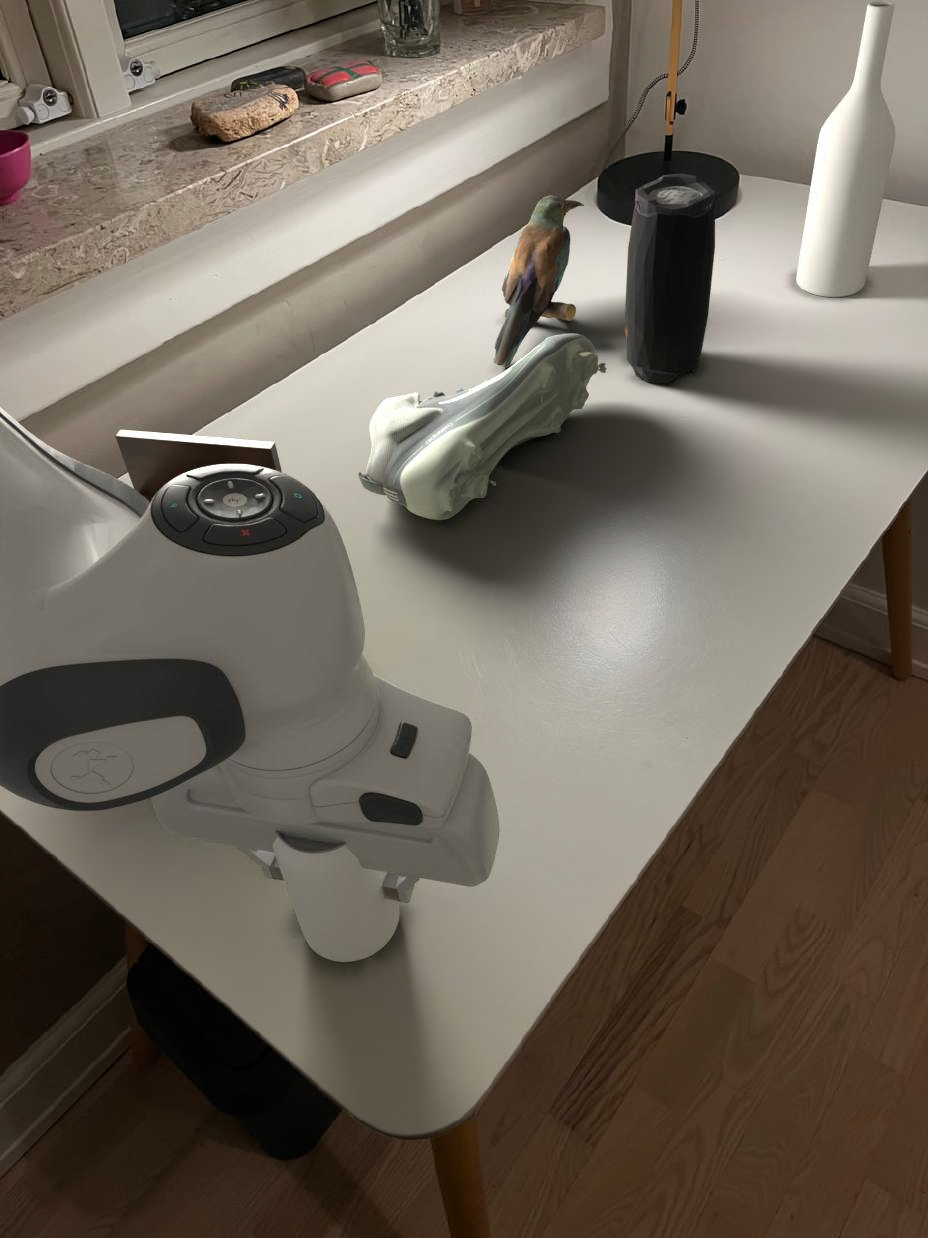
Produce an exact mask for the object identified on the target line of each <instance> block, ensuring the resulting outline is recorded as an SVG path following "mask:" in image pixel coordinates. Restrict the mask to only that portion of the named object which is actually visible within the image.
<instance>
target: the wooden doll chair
mask: <svg viewBox="0 0 928 1238" xmlns="http://www.w3.org/2000/svg"><path fill="white" fill-rule="evenodd" d="M114 437H115V441H116V443H117V446H118V449H119V451H120V454H121V457H122V460H123V463H124V465H125V468H126V471H127V474H128V477H129V479H130V481H131V484H132V488H133V489H135V490H136V491H137V492H139V493H140V494H141V495H142V496H144V497H145V498H146V499H147V500H148V501H149V502H151V501H152V499H153V497H154V496H155V494H156V493H157V492H158V491H159V490H160V489H161V488H162V487H163V486H164V485H165V484H166V483H168V482H169V481H171V480H172V479H174V478H176V477H177V476H179V475H181V474H184V473H186V472H189V471H192V470H195V469H198V468H202V467H207V466H213V465H222V464H246V465H255V466H261V467H266V468H270V469H273V470H276V471H279V472H282V473H283V470H282V465H281V462H280V457H279V454H278V449H277V444H276V442H275V441H262V440H250V439H237V438H228V437H227V438H226V437H215V436H203V435H202V436H201V435H189V434H177V433H163V432H153V431H142V430H141V431H139V430H130V429H129V430H128V429H127V430H126V429H119V430H118V432H117V433H116V434H115V436H114Z"/></svg>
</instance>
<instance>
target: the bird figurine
mask: <svg viewBox="0 0 928 1238" xmlns="http://www.w3.org/2000/svg"><path fill="white" fill-rule="evenodd" d="M578 207H585V205H584V203H582V202H580V201H577V200H571V199H566V198H564V197H561V196H557V195H554V194H550V195H547V196H544V197H542V198H541V199H540V200H539V201H537V203H536V206H535V208H534V210H533V212H532V214H531V216H530V220H529V221H528V223H527V225H526V226H525V227H524V228H523V229H522V231H521V233H520V236H519V237H518V239H517V241H516V244H515V247H514V250H513V254H512V257H511V260H510V263H509V265H508V268H507V271H506V273H505V277H504V279H503V284H502V286H501V291H502V293H503V294H502V295H503V298H504V302H505V303H506V304H507V305H509V307H508V308H507V309H505V311H504V318H505V319H504V322H503V324H502V326H501V328H500V330H499V333H498V335H497V338H496V339H495V343H494V350H495V353H494V358H493V364H494V365H497V366H502V369H507V367H509V366H510V365H511V364H512V362H513V359H514V358H515V356H516V355H517V352H518V350H519V347H520V346H521V344H522V342H523V340H524V339H525V338H526V337H527V335H528V333H529V332H530V331H531V330H532V329H533V328H534V326H535V325H536V324H537V322H538V321H539V319H541V318H542V317H543V318H545V319H556V320H557V321H560V322H561V321H563V320H565V321H569V322H570V321H572V320H573V319H574V318H575V317H576V314H577V307H576V305H575V304H573V303H566V302H562V301H552V300H553V298H554V295H555V294H556V292H557V291H558V290H559V288H560V285H561V284H562V281H563V277H564V275H565V271H566V268H567V267H568V265H569V260H570V250H571V234H570V230H569V228H568V227H567V226H564V220H565V217H566V216H567V213H568V212H570V210H574V209H576V208H578Z"/></svg>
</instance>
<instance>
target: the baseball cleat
mask: <svg viewBox="0 0 928 1238" xmlns="http://www.w3.org/2000/svg"><path fill="white" fill-rule="evenodd" d="M595 351H596V350H595V346H594V344H593V343H592V342H591V340H590V339H589V338H588V337H587V336H585V335H582V334H579V333H561V334H555V335H551V336H549V337H546V338H545V339H544V340H543V341H541V342H540V343H539V344H538V345H537V346H536V347H535V346H534V348H533V349H532V350H531V351H529V352H528V353H527V354H525V356H523V357H522V358H520V359H519V360H518V361H516V362H515V363H514V364H512V365H511V366H510V367H509V368H507V369H506V370H505V371H503V372H501V373H500V374H498V375H497V376H495V377H492V378H487V379H485V380H484V382H482V383H480V384H474V385H471V386H470V388H467V389H463V388H462V387H461V388H456V390H455V391H456V392H453V393H452V394H449V395H446V394H445V393H444V392H443V391H437V390H435V391H434V392H433V393H434V394H431V395H429V396H428V397H426V398H425V399H423V400H421V396H420V393H419V392H412V393H409V394H404V395H398V396H395V397H388V398H386V399H384V400H383V401H382V402H381V403H380V404H379V406H378V407H377V409H376V411H375V412H374V414H373V415H372V418H371V419H370V422H369V436H370V441H371V442H370V443H371V449H370V455H369V458H368V462H367V466H366V471H365V474H363V473H362V472H361V471H359V472H358V474H357V477H358V478H359V481H360V483H361V486H362V488H364V490H367V491H369V492H371V493H373V494H376V495H380V496H385V497H387V499H389V500H390V501H391V502H394V503H396V504H398V505H400V506H404V507H405V508H406V509H407V510H408V512H410V513H412V514H414V515H416V516H417V517H418V516H419V517H421V518H424V519H429V520H436V521H444V520H448V519H451V518H452V517H455V515H458V513H460V512H461V510H462V509H463V508H464V507H466V505H467V504H468V503H469V502H470V501H471V500H473V499H481V498H485V497H486V496H487V492H488V486H489V483H490V485H492V486H497V482H496V481H494V480H491V479H490V477H489V476H490V475H491V474H492V472H493V470H494V469H495V468H496V466H497V465H498V463H499V462H500V460H501V459H502V458H503V457H504V456H505V455H506V453H508V452H509V450H510V449H512V448H514V447H516V446H518V445H521V444H524V443H525V442H528V441H530V440H533V439H535V438H540V437H544V436H548V435H551V434H554V433H556V434H558V433H560V432H561V430H562V428H561V426H562V425H563V424H564V422H565V421H566V420H567V419H568V416H569V415H570V414H571V413H572V411H574V410H581V409H583V407H584V406H585V403H586V402H587V400H588V398H589V397H590V393H589V392H588V390H587V387H588V385H589V382H590V380H591V378H592V377H593V376H594V375H596V374H598V372H600V373H603V374H606V372H607V367H606V366H607V362H600V363H599V357H598V356H599V355H598V354H596V352H595Z"/></svg>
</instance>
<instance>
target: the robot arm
mask: <svg viewBox="0 0 928 1238" xmlns="http://www.w3.org/2000/svg"><path fill="white" fill-rule="evenodd" d="M361 605H362V604H361V600H360V596H359V592H358V587H357V582H356V579H355V575H354V572H353V567H352V565H351V562H350V558H349V555H348V552H347V548H346V546H345V543H344V540H343V537H342V535H341V533H340V530H339V528H338V525H337V524H336V522H335V520H334V519H333V517H332V515H331V512H330V511H329V509H328V508H327V507H326V505H325V504H324V503H323V501H322V500H321V499H320V498H319V497H318V496H317V494H315V492H313V490H311V488H309V487H308V486H306V485H305V484H304V483H302V482H301V481H299V480H298V479H296V478H295V477H293V476H290V475H288V474H286V473H285V472H283V471H282V472H279V471H276V470H273V469H270V468H266V467H261V466H255V465H246V464H222V465H213V466H207V467H202V468H198V469H195V470H192V471H189V472H186V473H184V474H181V475H179V476H177V477H176V478H174V479H172V480H171V481H169V482H168V483H166V484H165V485H164V486H163V487H162V488H161V489H160V490H159V491H158V492H157V493H156V494H155V496H154V497H153V499H152V501H151V502H149V501H148V500H147V499H146V498H145V497H144V496H142V495H141V494H140V493H139V492H137V491H136V490H135V489H134V488H133V486H130V485H129V484H127V483H126V482H124V481H122V480H121V479H118V478H116V477H115V476H113V475H111V474H108V473H106V472H105V471H102V470H100V469H98V468H95V467H92V466H90V465H88V464H85V463H83V462H81V461H79V460H77V459H74V458H72V457H71V456H68V455H66V454H64V453H62V452H61V451H59V450H57V449H55V448H54V447H52V446H50V445H48V444H47V443H45V442H44V441H42V440H41V439H39V438H38V437H37V436H35V435H34V434H33V433H31V432H30V431H29V430H28V429H27V428H25V427H24V426H23V425H22V424H21V423H19V422H18V421H17V420H16V419H15V418H14V417H13V416H11V415H10V414H9V413H8V412H7V411H6V410H5V409H4V408H2V407H1V406H0V786H1V787H2V788H3V789H5V790H6V791H8V792H9V793H12V794H14V795H16V796H18V797H20V798H21V799H24V800H27V801H29V802H32V803H34V804H38V805H41V806H44V807H49V808H54V809H58V810H65V811H73V812H75V811H76V812H94V811H95V812H96V811H97V812H98V811H106V810H110V809H116V808H120V807H124V806H128V805H132V804H135V803H140V802H142V801H146V800H148V799H151V803H152V805H153V809H154V812H155V815H156V817H157V820H158V822H159V823H160V825H161V826H162V827H164V828H165V829H166V830H168V831H169V832H171V833H172V834H174V835H175V836H177V837H181V838H186V839H193V840H198V841H204V842H209V843H214V844H215V843H216V844H223V845H226V846H227V845H228V846H234V847H236V849H237V850H239V851H240V852H241V853H243V854H244V855H245V856H247V857H248V858H249V859H250V860H251V861H253V862H254V863H256V864H257V865H259V866H261V869H262V871H263V874H264V877H265V878H266V879H271V880H277V881H281V882H282V881H283V882H284V879H283V876H282V873H281V870H280V868H279V865H278V862H277V859H276V856H275V853H274V849H273V843H274V842H275V840H276V839H277V837H278V836H277V834H276V832H275V831H278V832H279V833H280V835H281V836H283V835H284V836H291V837H297V838H309V840H315V841H321V842H327V843H332V844H338V845H340V844H342V843H344V842H346V843H347V844H346V847H347V849H348V850H349V851H350V852H351V853H352V854H353V855H354V856H355V857H356V858H357V859H358V860H359V863H360V865H361V866H362V867H363V868H366V869H371V870H377V871H383V872H388V875H387V876H386V878H385V880H384V882H383V885H382V888H383V892H384V893H385V896H384V897H385V899H388V900H393V901H398V902H399V903H404V904H409V903H410V902H411V900H412V899H411V898H412V895H413V892H414V888H415V885H416V884H417V883H418V882H419V881H420V879H425V880H431V881H435V882H442V883H447V884H453V885H458V886H462V887H469V888H473V887H474V888H475V887H476V886H480V885H481V884H483V883H484V882H486V881H487V880H488V879H489V877H490V875H491V872H492V869H493V867H494V866H493V865H494V863H495V858H496V855H497V850H498V845H499V839H500V831H501V830H500V829H501V828H500V819H499V818H500V817H499V812H498V806H497V802H496V798H495V793H494V790H493V786H492V783H491V779H490V777H489V774H488V772H487V770H486V768H485V766H484V765H483V764H482V761H480V760H479V759H478V758H477V757H476V756H475V755H474V754H472V753H471V752H470V749H471V744H472V743H471V742H472V734H473V726H472V721H471V719H470V718H469V716H468V715H466V714H465V713H463V712H462V711H461V710H458V709H455V708H453V707H450V706H448V705H443V704H441V703H439V702H435V701H433V700H430V699H427V698H424V697H423V696H420V695H418V694H415V693H412V692H410V691H408V690H406V689H403V688H402V687H399V686H397V685H395V684H393V683H391V682H390V681H388V680H386V679H384V678H382V677H380V676H378V675H376V674H374V672H373V670H372V667H371V666H370V664H369V662H368V660H367V658H366V657H365V656H364V654H363V652H364V647H365V641H366V625H365V620H364V615H363V614H364V613H363V610H362V606H361Z"/></svg>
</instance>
